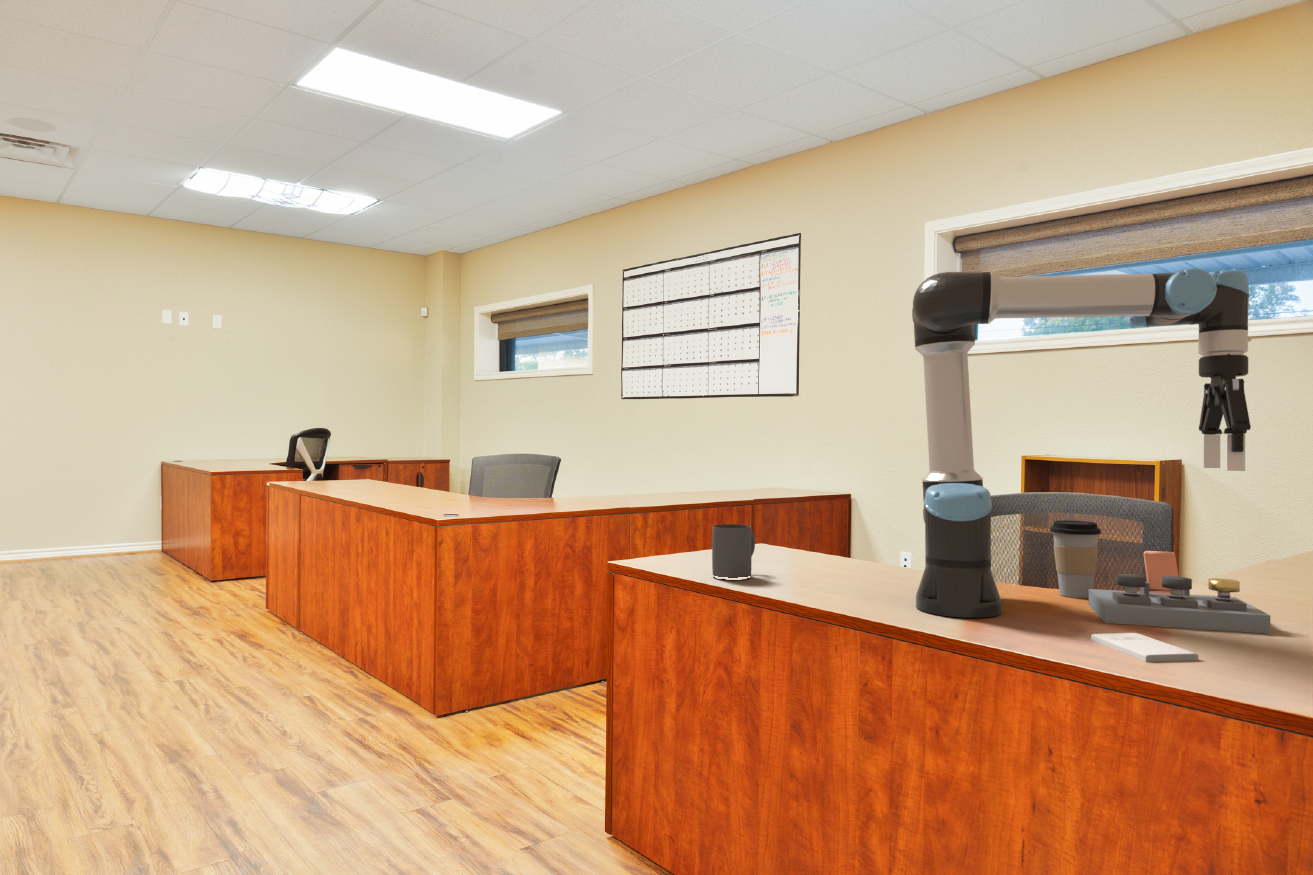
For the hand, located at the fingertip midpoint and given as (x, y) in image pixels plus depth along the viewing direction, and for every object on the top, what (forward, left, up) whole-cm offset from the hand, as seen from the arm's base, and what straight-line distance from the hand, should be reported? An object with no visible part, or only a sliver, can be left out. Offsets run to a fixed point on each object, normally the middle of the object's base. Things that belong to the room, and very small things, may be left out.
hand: (1222, 469), depth 147 cm
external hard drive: (-21, -35, -27) cm, 49 cm away
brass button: (-4, -13, -22) cm, 25 cm away
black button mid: (-11, -13, -22) cm, 27 cm away
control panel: (-11, -10, -26) cm, 30 cm away
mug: (-95, +7, -27) cm, 99 cm away
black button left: (-18, -13, -22) cm, 31 cm away
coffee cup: (-24, +7, -27) cm, 36 cm away
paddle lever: (-11, -5, -22) cm, 25 cm away
